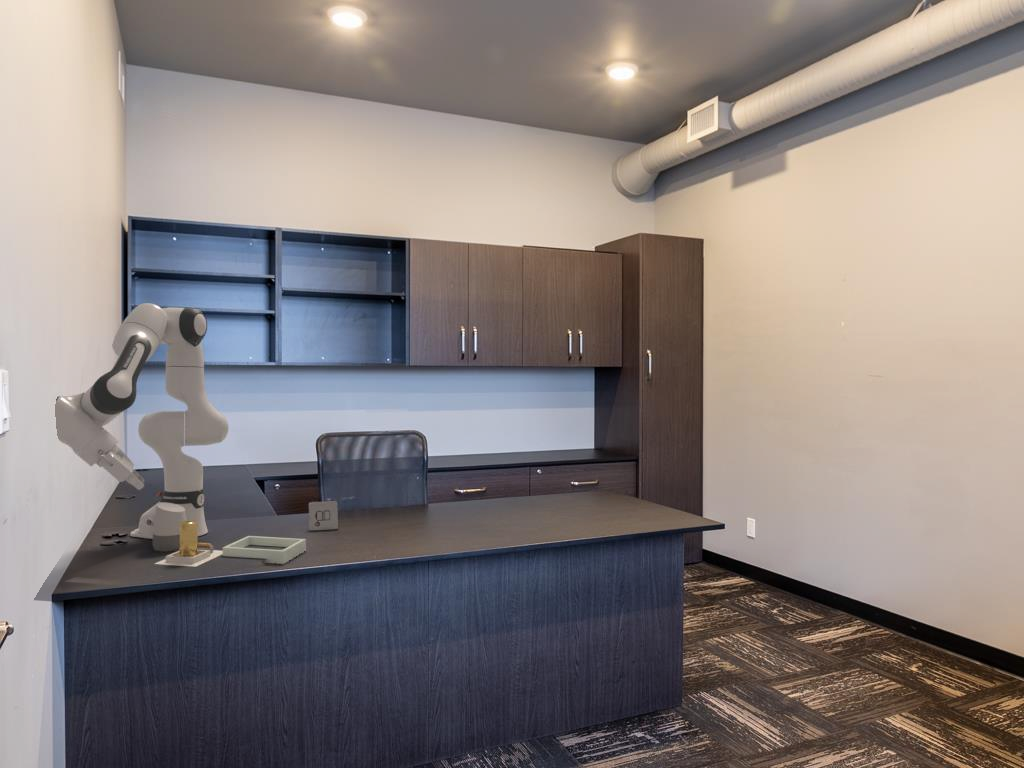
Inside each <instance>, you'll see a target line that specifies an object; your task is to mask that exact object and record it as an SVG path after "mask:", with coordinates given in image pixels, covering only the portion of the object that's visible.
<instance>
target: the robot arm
mask: <svg viewBox="0 0 1024 768" xmlns="http://www.w3.org/2000/svg"><path fill="white" fill-rule="evenodd" d="M207 330H208V321H207V318H206V316H205V314H204V313H203V312H202V310H200V309H198V308H194V307H164V308H161V307H160V306H159V305H157V304H154V303H151V302H146V303H145V302H144V303H141V304H138V305H137V306H136V307H134V308H133V310H132V311H131V312H130V313H129V314H128V315H127V316H126V317H125V319H124V320H123V322H122V323H121V325H120V326H119V328H118V329H117V330H116V333H115V335H114V338H113V341H112V346H111V347H112V350H113V351H114V354H116V356H117V357H118V358H117V359H116V361H115V363H114V364H113V367H112V368H111V370H110V371H108V372H106V373H104V374H102V375H101V376H100V377H99V378H97V380H96V381H95V382H94V383H93V385H92V386H90V387H89V388H88V390H86V391H85V392H81V393H78V394H74V395H67V396H63V395H59V396H57V399H56V404H55V417H56V429H57V436H58V439H59V440H58V441H60V442H61V443H62V444H65V445H67V446H68V447H70V448H71V450H72V451H73V453H74V454H75V455H76V456H78V457H79V458H80V459H81V460H82V461H84V462H85V463H86V464H87V465H89V466H90V467H93V466H94V465H97V466H98V468H99V467H100V468H103V469H104V470H105V471H106V472H107V473H109V474H110V475H111V476H112V477H113V478H114V479H116V480H117V481H118V482H120V483H123V482H124V481H125V482H127V483H128V484H129V485H131V486H133V487H135V489H137V490H138V491H140V490H142V489H143V488H145V478H143V477H142V475H140V474H139V472H138V471H137V470H136V469H134V466H135V463H134V462H133V461H132V460H131V459H130V458H129V457H128V456H127V455H126V454H125V452H124V451H122V449H121V448H120V447H119V446H117V444H118V443H119V442H120V441H119V440H118V439H117V438H116V437H114V435H113V434H111V433H110V432H109V431H107V429H105V428H104V426H107V425H108V424H110V423H111V422H112V421H113V420H114V419H116V418H117V417H118V416H120V414H121V413H123V412H124V411H126V410H128V409H129V408H131V407H132V406H133V405H134V403H135V402H136V399H137V398H136V397H137V382H138V379H139V376H140V373H141V372H142V369H144V366H145V364H146V362H147V361H148V360H149V359H150V358H151V357H152V356H153V354H154V353H155V352H156V350H157V349H158V347H159V346H160V345H167V350H166V357H165V359H166V360H165V392H166V394H168V395H169V396H170V397H172V398H174V399H175V400H177V401H179V402H182V403H184V404H185V405H186V407H187V409H186V410H185V411H184V410H183V411H179V410H178V411H176V410H175V411H171V410H170V411H167V410H166V411H157V412H152V413H147V414H145V415H144V416H142V418H141V419H140V421H139V423H138V428H137V429H138V430H137V431H138V436H139V438H140V440H141V441H142V442H143V443H144V444H145V445H147V446H148V447H150V448H151V449H152V450H153V452H155V453H156V454H157V456H158V457H159V459H160V461H161V463H162V468H163V475H164V480H163V481H164V489H163V490H161V491H160V492H157V493H156V495H155V497H156V498H159V500H158V502H157V503H156V504H154V505H153V506H152V507H151V508H149V509H148V510H147V511H144V513H143V514H142V515H141V516H140V518H139V523H138V528H136V529H134V530H132V531H131V532H130V537H133V538H141V539H142V538H143V539H151V540H153V529H154V521H155V512H156V505H157V504H158V503H161V502H167V503H173V504H177V505H180V506H182V507H184V508H185V512H186V520H187V521H197V522H198V533H197V537H200V536H204V535H205V534H208V533H209V530H208V527H207V523H206V518H205V511H204V505H205V488H204V487H203V486H204V467H203V463H201V461H199V460H198V459H196V458H194V457H192V456H190V455H187V454H185V453H184V452H183V450H182V447H194V446H195V447H196V446H197V447H198V446H210V445H214V444H215V445H216V444H220V443H222V442H223V441H224V440H225V438H226V437H227V435H228V432H229V422H228V420H227V418H226V417H225V416H224V414H223V413H221V412H220V411H219V410H217V409H216V408H215V407H214V406H213V405H212V403H211V402H210V400H209V399H208V396H207V394H206V387H205V362H204V361H205V360H204V358H205V357H204V351H203V346H202V345H203V344H202V340H204V338H205V336H206V334H207Z"/></svg>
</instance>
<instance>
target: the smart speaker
mask: <svg viewBox="0 0 1024 768" xmlns="http://www.w3.org/2000/svg"><path fill="white" fill-rule="evenodd" d="M157 503H158V502H157ZM157 503H156V504H157ZM156 504H155V505H156ZM183 521H187V520H186V512H185V508H184V507H182V506H180V505H177V504H173V503H167V502H161V503H158V504H157V505H156V512H155V521H154V529H153V539H152V547H153V551H157V552H162V553H163V552H164V553H165V552H177V551H179V550H180V522H183Z"/></svg>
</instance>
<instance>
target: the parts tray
mask: <svg viewBox="0 0 1024 768" xmlns="http://www.w3.org/2000/svg"><path fill="white" fill-rule="evenodd" d="M248 546H267V547H279V548H280V547H282V548H283V547H284V548H283V549H269V548H253V547H251V548H250V547H248ZM306 546H307V539H305V538H290V537H274V536H273V537H272V536H258V535H257V536H256V535H247V536H245V537H242V538H241V539H238V540H236V541H234V542H232V543H229V544H227V545H225V546H223V547H222V551H223V553H222V555H221V556H222V557H233V558H250V559H263V560H262V561H261V562H263V563H264V564H275V563H276V564H277V565H279V564H280V565H284V564H286V563H288V562H290V561H292V560H293V559H294V557H295V558H296V556H297V557H298V556H300V555H302V554H303V553H305V552H307V547H306ZM304 551H305V552H304ZM301 553H302V554H301ZM299 554H300V555H299ZM289 560H290V561H289ZM263 563H262V564H263ZM276 564H275V565H276Z"/></svg>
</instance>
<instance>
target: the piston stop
mask: <svg viewBox="0 0 1024 768" xmlns="http://www.w3.org/2000/svg"><path fill="white" fill-rule="evenodd" d="M197 533H198V522H197V521H183V522H180V553H179V556H184V557H194V556H196V555H197V543H198V536H197Z"/></svg>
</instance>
